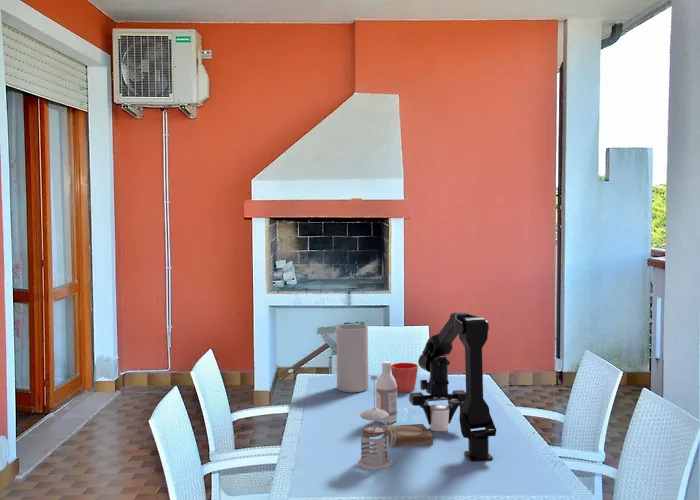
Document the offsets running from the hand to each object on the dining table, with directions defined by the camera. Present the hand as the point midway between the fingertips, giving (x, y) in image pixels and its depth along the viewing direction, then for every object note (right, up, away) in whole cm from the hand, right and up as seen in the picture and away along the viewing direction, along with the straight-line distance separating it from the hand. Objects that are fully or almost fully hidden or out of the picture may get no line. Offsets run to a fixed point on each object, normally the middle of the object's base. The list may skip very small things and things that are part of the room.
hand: (439, 423), depth 214 cm
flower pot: (-7, +1, +47) cm, 48 cm away
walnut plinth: (-11, -2, -10) cm, 14 cm away
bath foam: (-17, -1, +9) cm, 19 cm away
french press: (-21, -4, -29) cm, 36 cm away
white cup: (0, -2, 0) cm, 2 cm away
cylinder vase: (-28, +1, +49) cm, 57 cm away
